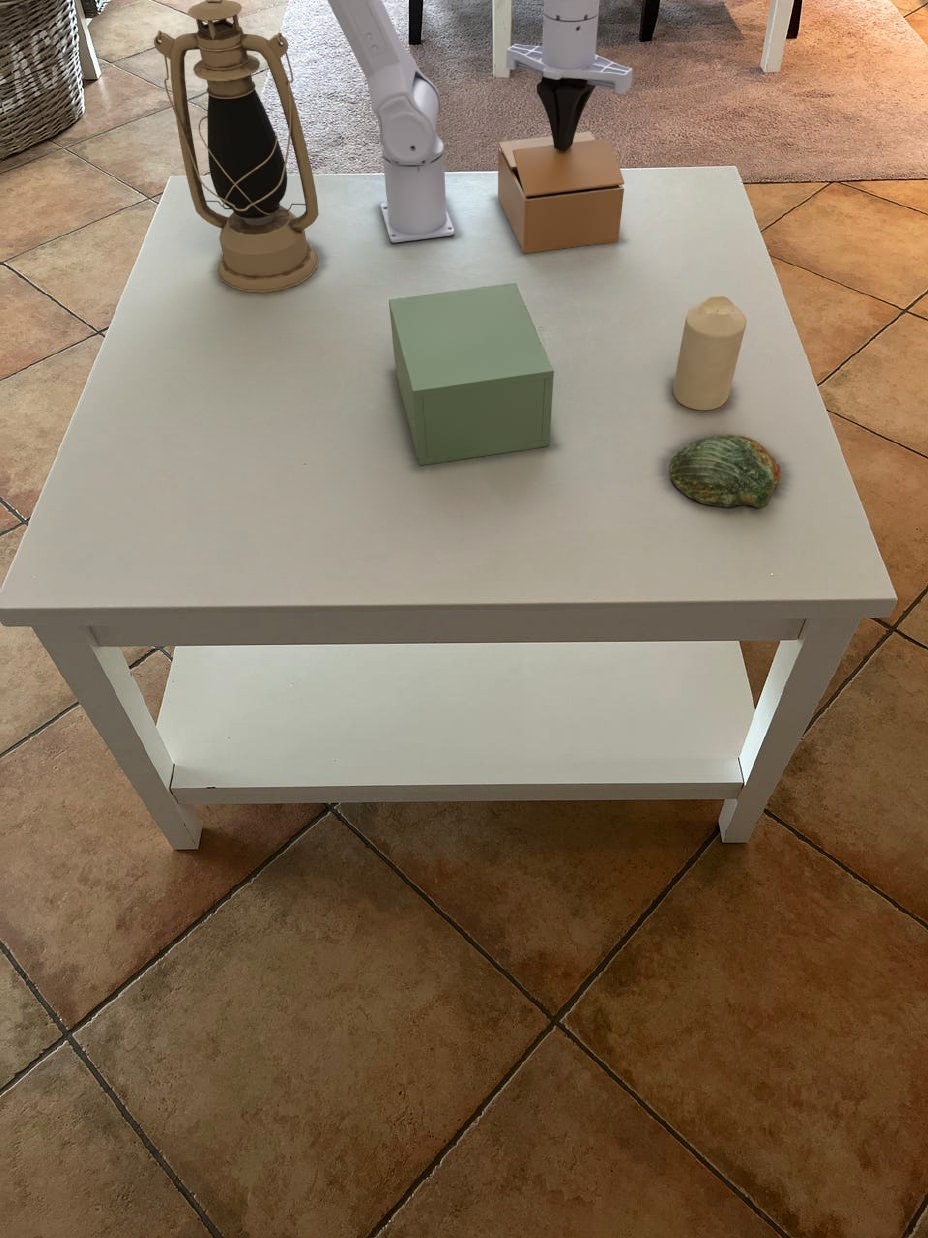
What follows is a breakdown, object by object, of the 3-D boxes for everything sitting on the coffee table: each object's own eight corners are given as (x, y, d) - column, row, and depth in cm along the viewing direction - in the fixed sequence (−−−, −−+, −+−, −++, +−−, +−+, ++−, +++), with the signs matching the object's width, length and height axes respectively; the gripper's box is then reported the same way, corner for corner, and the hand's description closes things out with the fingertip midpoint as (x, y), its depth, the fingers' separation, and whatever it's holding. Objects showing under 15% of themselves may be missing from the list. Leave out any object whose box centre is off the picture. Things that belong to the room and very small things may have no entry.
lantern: (194, 289, 106) (108, -12, 82) (223, 236, 113) (152, -54, 90) (316, 295, 104) (265, -10, 81) (337, 241, 112) (296, -53, 88)
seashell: (748, 393, 84) (815, 459, 79) (741, 427, 88) (805, 493, 82) (653, 430, 83) (714, 500, 77) (650, 463, 86) (709, 533, 80)
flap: (623, 184, 105) (624, 182, 105) (524, 196, 104) (525, 194, 103) (609, 139, 107) (610, 137, 107) (512, 151, 106) (512, 149, 106)
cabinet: (395, 373, 95) (388, 299, 88) (514, 357, 96) (515, 282, 89) (419, 466, 86) (412, 391, 79) (549, 446, 87) (554, 370, 80)
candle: (727, 413, 89) (749, 324, 82) (670, 407, 90) (687, 318, 82) (729, 379, 93) (750, 290, 85) (674, 374, 93) (690, 285, 86)
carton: (618, 241, 110) (624, 182, 105) (523, 253, 109) (524, 194, 103) (586, 187, 119) (590, 130, 113) (497, 198, 117) (498, 141, 112)
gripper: (491, 12, 96) (491, 145, 106) (616, 37, 90) (603, 175, 101) (525, -9, 99) (522, 122, 110) (647, 14, 94) (631, 149, 105)
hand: (563, 146), depth 106 cm, fingers closed
